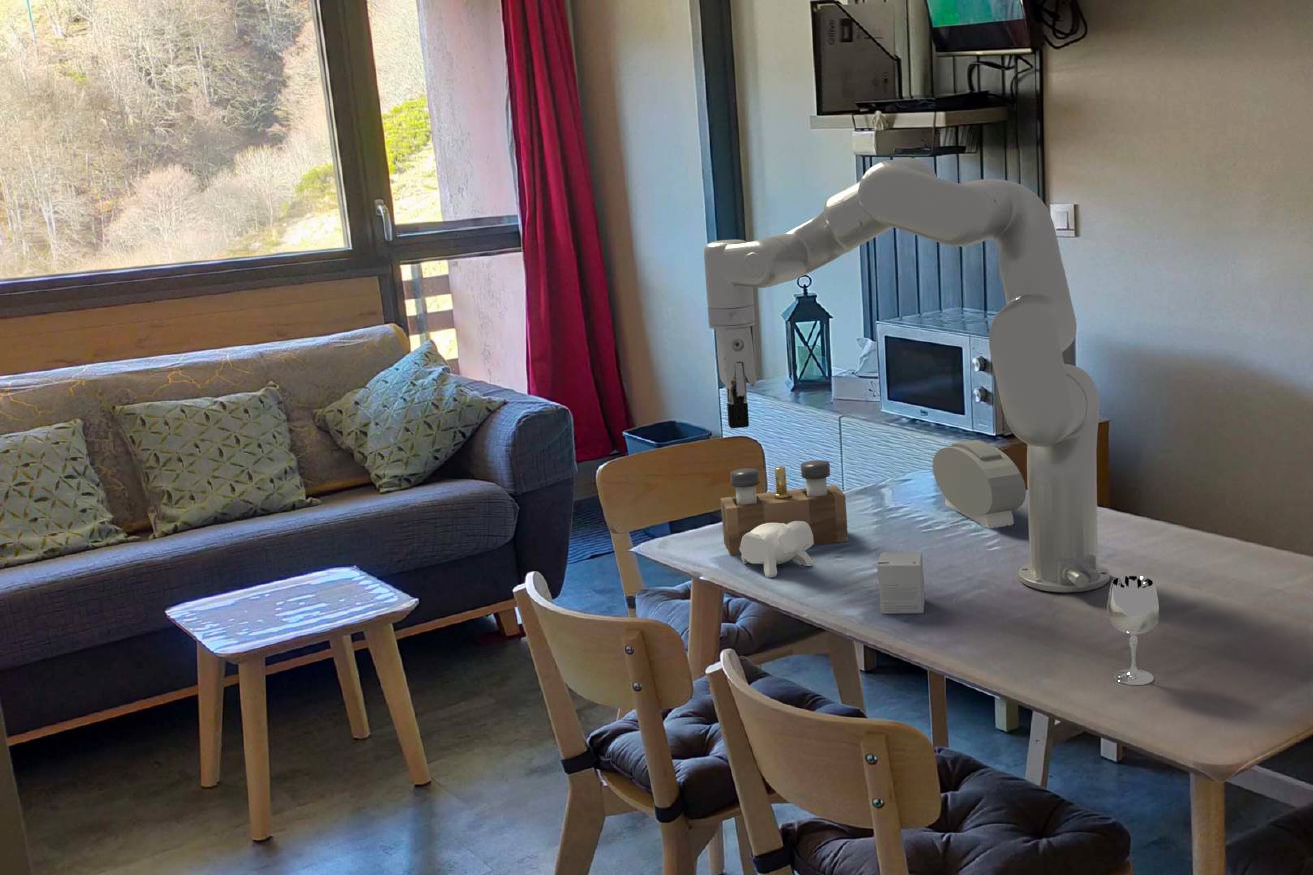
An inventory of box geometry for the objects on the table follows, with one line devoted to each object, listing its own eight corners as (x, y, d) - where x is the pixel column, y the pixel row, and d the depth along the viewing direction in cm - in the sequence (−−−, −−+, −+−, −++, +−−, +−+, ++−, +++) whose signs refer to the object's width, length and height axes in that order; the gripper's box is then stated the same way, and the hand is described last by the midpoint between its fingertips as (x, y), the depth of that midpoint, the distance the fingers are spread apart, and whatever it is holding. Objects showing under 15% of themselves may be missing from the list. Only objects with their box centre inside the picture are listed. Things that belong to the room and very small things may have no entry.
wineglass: (1107, 685, 151) (1105, 589, 148) (1109, 666, 156) (1107, 573, 154) (1159, 688, 149) (1159, 591, 146) (1159, 669, 154) (1158, 574, 152)
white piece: (742, 585, 207) (791, 572, 194) (727, 534, 208) (775, 518, 195) (784, 572, 211) (836, 559, 198) (769, 523, 212) (820, 506, 199)
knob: (835, 517, 214) (832, 465, 212) (807, 520, 214) (804, 468, 212) (829, 510, 219) (825, 459, 217) (801, 513, 218) (798, 462, 217)
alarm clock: (1028, 529, 212) (1025, 454, 209) (993, 534, 211) (991, 459, 208) (965, 496, 234) (962, 428, 231) (934, 500, 233) (930, 432, 230)
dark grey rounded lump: (765, 525, 213) (761, 473, 211) (736, 529, 213) (732, 476, 211) (760, 518, 218) (756, 467, 216) (732, 521, 218) (728, 470, 216)
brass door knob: (792, 497, 214) (790, 469, 213) (774, 499, 213) (772, 471, 212) (789, 493, 217) (786, 464, 216) (771, 495, 216) (769, 466, 215)
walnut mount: (848, 541, 214) (845, 495, 212) (730, 555, 213) (726, 508, 211) (838, 529, 221) (835, 484, 219) (724, 542, 219) (720, 498, 218)
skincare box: (925, 599, 185) (923, 550, 183) (923, 614, 179) (921, 564, 177) (882, 599, 186) (880, 551, 184) (879, 614, 180) (876, 564, 179)
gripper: (762, 320, 201) (769, 434, 205) (746, 309, 215) (753, 415, 220) (715, 325, 200) (722, 438, 205) (702, 313, 215) (710, 419, 219)
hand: (738, 426), depth 212 cm, fingers closed
